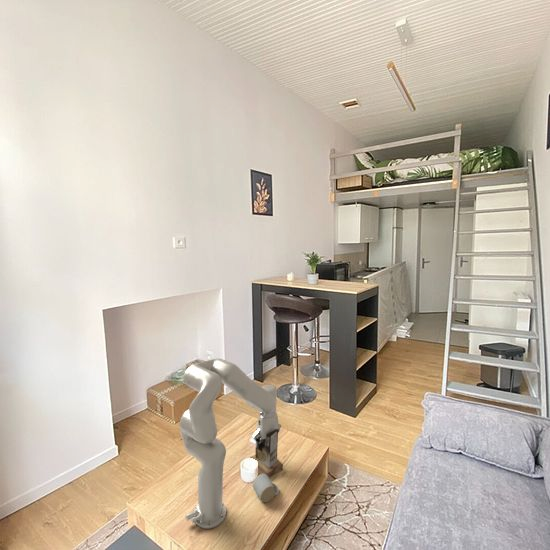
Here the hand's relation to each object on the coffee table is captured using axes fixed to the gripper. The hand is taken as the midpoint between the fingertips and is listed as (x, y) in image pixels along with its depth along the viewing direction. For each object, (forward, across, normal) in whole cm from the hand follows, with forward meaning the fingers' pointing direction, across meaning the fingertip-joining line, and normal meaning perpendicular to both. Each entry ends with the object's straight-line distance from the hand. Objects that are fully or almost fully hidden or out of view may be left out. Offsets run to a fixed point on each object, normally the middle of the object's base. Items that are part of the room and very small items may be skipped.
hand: (266, 446), depth 149 cm
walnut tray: (+11, 0, 0) cm, 11 cm away
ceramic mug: (+11, -10, -13) cm, 20 cm away
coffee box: (+8, 0, 0) cm, 8 cm away
